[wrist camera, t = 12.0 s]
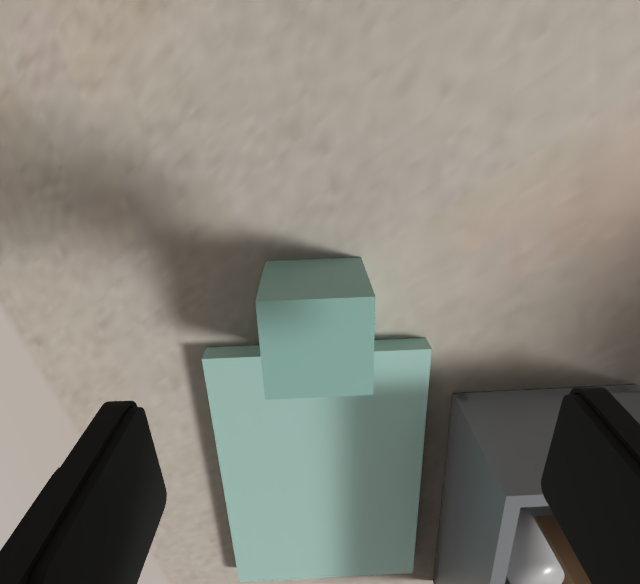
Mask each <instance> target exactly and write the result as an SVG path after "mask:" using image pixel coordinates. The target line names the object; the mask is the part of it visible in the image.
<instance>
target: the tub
mask: <svg viewBox="0 0 640 584" xmlns="http://www.w3.org/2000/svg"><path fill="white" fill-rule="evenodd" d="M593 387H603V388H605V389H606V390H608V391H609V392H610V393H611V394H612V395H613V396H614V398H615V399H616V400H617V401H618V402H619V403H620V404H621V405H622V406H623V407H624V408H625V409H626V410H627V411H628V412H629V413H630V414H631V415H632V416H633V417H634V419H635V420H636V421H637V422H638V423H639V424H640V387H639V386H637V385H636V384H633V385H613V386H593ZM573 388H582V387H573ZM573 388H553V389H533V390H512V391H492V392H472V393H453V397H452V407H451V416H450V426H449V436H448V445H447V455H446V464H445V474H444V483H443V493H442V502H441V512H440V521H439V531H438V540H437V550H436V559H435V569H434V579H433V583H434V584H591V582H590V580H589V578H588V576H587V575H586V573H585V571H584V569H583V567H582V565H581V564H580V562H579V560H578V558H577V556H576V555H575V553H574V551H573V549H572V547H571V545H570V544H569V542H568V540H567V538H566V536H565V534H564V533H563V531H562V529H561V527H560V525H559V524H558V522H557V520H556V518H555V516H554V514H553V513H552V511H551V509H550V507H549V505H548V503H547V502H546V500H545V498H544V496H543V493H542V489H541V478H542V475H543V471H544V467H545V463H546V459H547V456H548V452H549V448H550V444H551V440H552V437H553V433H554V429H555V425H556V422H557V418H558V414H559V410H560V406H561V403H562V399H563V397H564V396H565V395H569V393H570V391H571V390H572V389H573Z"/></svg>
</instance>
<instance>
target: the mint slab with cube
mask: <svg viewBox="0 0 640 584" xmlns="http://www.w3.org/2000/svg"><path fill="white" fill-rule="evenodd" d="M255 305H256V315H257V325H258V335H259V345H254V346H231V347H209V348H206V350H205V352H204V355H203V357H202V364H203V370H204V376H205V382H206V388H207V394H208V400H209V406H210V412H211V418H212V424H213V430H214V436H215V441H216V447H217V453H218V459H219V465H220V471H221V477H222V483H223V489H224V495H225V501H226V507H227V513H228V519H229V525H230V531H231V537H232V543H233V549H234V555H235V561H236V567H237V573H238V579H239V582H254V581H273V580H292V579H311V578H330V577H350V576H369V575H388V574H407V573H413V566H414V554H415V542H416V530H417V518H418V507H419V495H420V483H421V471H422V459H423V447H424V436H425V424H426V412H427V400H428V388H429V377H430V365H431V353H432V348H431V346H430V345H429V343H428V341H427V339H426V338H412V339H389V340H374V334H375V294H374V292H373V289H372V286H371V283H370V281H369V278H368V275H367V272H366V270H365V267H364V264H363V261H362V259H361V257H358V258H333V259H308V260H284V261H265V265H264V269H263V273H262V277H261V281H260V284H259V288H258V292H257V296H256V300H255Z"/></svg>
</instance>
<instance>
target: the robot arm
mask: <svg viewBox="0 0 640 584" xmlns="http://www.w3.org/2000/svg"><path fill="white" fill-rule="evenodd" d="M541 489H542V493H543V496H544V498H545V500H546V502H547V503H548V505H549V507H550V509H551V511H552V513H553V514H554V516H555V518H556V520H557V522H558V524H559V525H560V527H561V529H562V531H563V533H564V534H565V536H566V538H567V540H568V542H569V544H570V545H571V547H572V549H573V551H574V553H575V555H576V556H577V558H578V560H579V562H580V564H581V565H582V567H583V569H584V571H585V573H586V575H587V576H588V578H589V580H590V582H591V584H640V424H639V423H638V422H637V421H636V420H635V419H634V417H633V416H632V415H631V414H630V413H629V412H628V411H627V410H626V409H625V408H624V407H623V406H622V405H621V404H620V403H619V402H618V401H617V400H616V399H615V398H614V396H613V395H612V394H611V393H610V392H609V391H608V390H606V389H605V388H603V387H582V388H573V389H572V390H571V391H570V393H569V395H565V396H564V397H563V399H562V403H561V406H560V410H559V414H558V418H557V422H556V425H555V429H554V433H553V437H552V440H551V444H550V448H549V452H548V456H547V459H546V463H545V467H544V471H543V475H542V478H541ZM166 497H167V494H166V488H165V484H164V480H163V477H162V473H161V469H160V465H159V462H158V458H157V454H156V451H155V447H154V443H153V440H152V436H151V432H150V429H149V425H148V421H147V418H146V414H145V411H144V409H143V408H142V407H137V405H136V403H135V402H134V401H111V402H106V403H104V404H103V405H102V407H101V408H100V410H99V411H98V413H97V414H96V415H95V417H94V418H93V420H92V421H91V423H90V424H89V426H88V427H87V429H86V430H85V432H84V433H83V435H82V436H81V438H80V439H79V440H78V442H77V443H76V445H75V446H74V448H73V450H72V451H71V452H70V454H69V455H68V457H67V458H66V460H65V461H64V463H63V464H62V466H61V467H60V468H58V469H57V470H56V472H55V473H54V474H53V475H52V476H51V478H50V479H49V481H48V482H47V484H46V485H45V487H44V488H43V490H42V491H41V493H40V494H39V495H38V497H37V498H36V500H35V501H34V503H33V504H32V506H31V507H30V509H29V510H28V511H27V513H26V514H25V516H24V517H23V519H22V520H21V522H20V523H19V525H18V526H17V528H16V529H15V530H14V532H13V534H12V535H11V536H10V538H9V539H8V541H7V542H6V544H5V545H4V546H3V548H2V549H1V551H0V584H137V582H138V579H139V577H140V574H141V571H142V568H143V566H144V563H145V560H146V557H147V555H148V552H149V549H150V546H151V544H152V541H153V538H154V536H155V533H156V530H157V527H158V525H159V522H160V519H161V516H162V514H163V511H164V508H165V505H166Z"/></svg>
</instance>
